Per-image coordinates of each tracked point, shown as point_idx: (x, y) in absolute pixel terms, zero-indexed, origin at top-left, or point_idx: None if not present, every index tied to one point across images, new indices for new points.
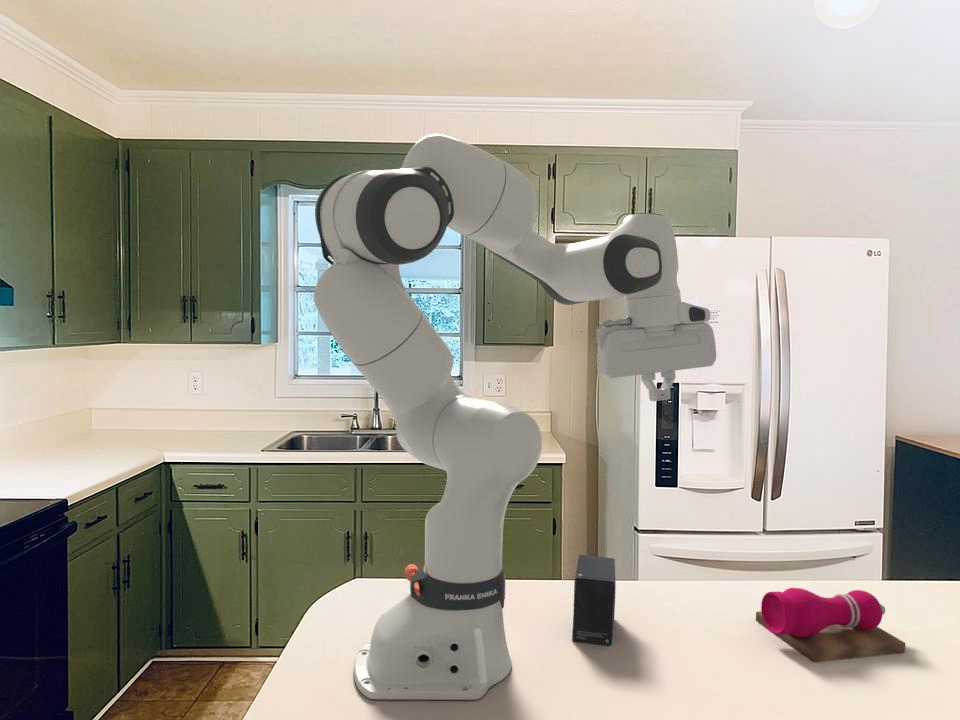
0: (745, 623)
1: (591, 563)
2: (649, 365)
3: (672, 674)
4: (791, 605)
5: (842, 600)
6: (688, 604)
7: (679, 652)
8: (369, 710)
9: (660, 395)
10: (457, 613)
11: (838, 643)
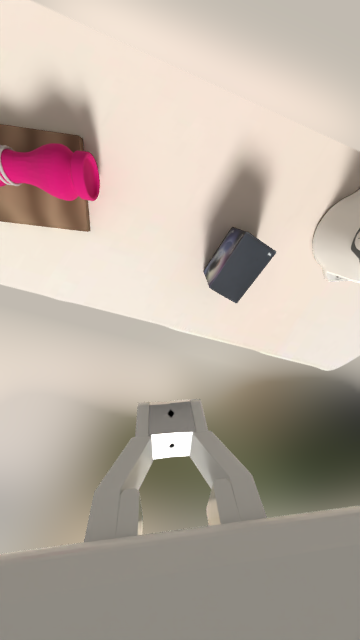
0: (102, 228)
1: (240, 278)
2: (308, 595)
3: (214, 164)
4: (74, 155)
5: (5, 159)
6: (131, 274)
7: (186, 198)
8: None
9: (179, 412)
10: None
11: (43, 144)
